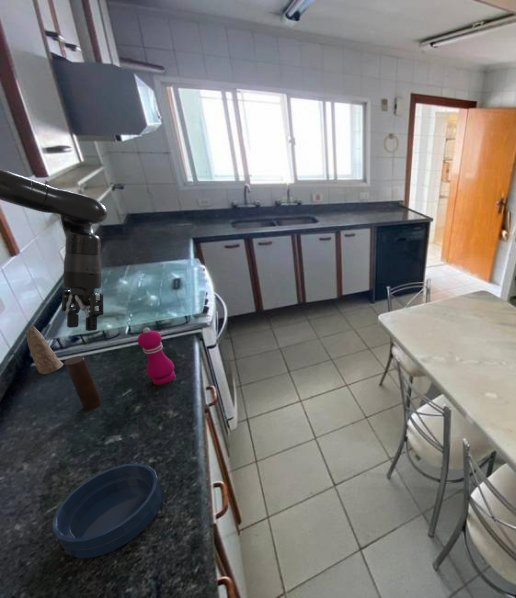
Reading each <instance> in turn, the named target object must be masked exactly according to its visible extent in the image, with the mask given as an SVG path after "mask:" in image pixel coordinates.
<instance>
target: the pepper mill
mask: <svg viewBox="0 0 516 598" xmlns="http://www.w3.org/2000/svg"><path fill="white" fill-rule="evenodd" d="M162 340H163V338H162V334H161V333H160V332H159V331H156V330H151V329H150V328H149V327H144V328H142V333H140V334H139V336H138V337H137V344H138V346H139V347H141V348H142V351H143V354H146V356H147V366H146V373H147V376H148V377H149V378H151V381H152V383H153V384H154V385H159V386H160V385H164V384H168V383H170V382H171V381H173V380H175V379H176V377H177V375H176V373H175V364H174V362H173V361H172V360H171V359H170V358H169V357H168V356H166V354H165V352H164V351H163V347H164V346H163V343H162Z"/></svg>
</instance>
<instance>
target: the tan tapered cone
mask: <svg viewBox="0 0 516 598" xmlns="http://www.w3.org/2000/svg"><path fill="white" fill-rule="evenodd" d="M25 337H26V341H27V345H28V349H29V352H30V354H31V357H32V360H33V362H34V364H35V368H36V370H37V372H38V373H39V374H42V375H49V374H51V373H54V372H56V371H57V370H59V369H61V368H62V367H63V366H64V363H63V362H62V361H61V360H60V359H59V357H58V356H57V354H56V353H55V352H54V351H53V349H52V348H51V346H50V345H49V343H48V341H46V339H45V337H44V335H43V334H42V333H41V332H40V331H39V330H38V329H37V328H36V327H35V326H34V325H31V326H27V329H26V330H25Z"/></svg>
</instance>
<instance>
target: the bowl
mask: <svg viewBox="0 0 516 598" xmlns="http://www.w3.org/2000/svg"><path fill="white" fill-rule="evenodd" d="M163 497H164V493H163V490H162V487H161V485H160V482H159V477H158V476H157V472H156V470H155V469H153V467H151V466H149V465H148V464H143V463H137V462H136V463H125V464H121V465H118V466H117V465H116V466H114V467H111V468H109V469H106V470H104V471H101V472H99V473H97V474H95V475H94V476H92V477H90V478H89V479H86V480H85V481H84V482H82V483H81V484H80V485H78V486H77V487H76V488H75V489H74V490H73V491H71V492H70V493H69V494H68V496H67V497H65V499H64V500H63V501H62V503H61V504H60V505H59V506H58V508H57V510H56V511H55V514H54V516H53V518H52V532H53V533H54V535H55V537H56V538H57V540H58V542H59V543H60V545H61V547H62V548H63V550H65V552H66V553H67V555H68V556H71V557H74V558H78V559H91V558H97V557H100V556H104V555H106V554H109V553H112V552H114V551H116V550H117V549H119V548H121V547H123V546H125V545H126V544H128V543H129V542H131V541H132V540H133V539H135V538H136V537H138V536H139V535H140V534H141V533H142V532H143V531H144V530H145V529H146V528H147V527H148V526H149V525H150V523H151V522H152V521H153V520H154V519H155V518H156V516H157V514H158V512H159V510H160V509H161V507H162V501H163Z"/></svg>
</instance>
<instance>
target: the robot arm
mask: <svg viewBox="0 0 516 598" xmlns="http://www.w3.org/2000/svg"><path fill="white" fill-rule="evenodd" d="M0 201H3V202H6V203H9V204H12V205H15V206H19V207H23V208H26V209H29V210H33V211H37V212H39V213H46V214H55V215H59V217H60V221H61V227H62V230H63V233H64V237H65V241H64V242H65V244H64V246H65V247H64V249H65V250H64V259H63V284H62V285H63V287H64V288H66V290H64V289H63V290H62V295H61V296H62V297H61V311H62V312H65V315H66V327H67V328H70V329H71V328H78V327H79V317H80V316H79V313H80V311H83V313H84V314H85V331H87V332H93V331H97V329H98V317H99V316H103V315H104V294H103V293H102V292H101V293H100V292H96V289H97V290H98V289H100V288H102V258H101V252H102V250H101V246H102V244H101V238H100V237H99V236H98V235H97V234H94V228H93V225H97V224H101V223H102V222H104V221H106V220H107V217H108V209H107V207H106V206H105V205H104V204H103V203H102V202H101V201H99V200H97V199H95V198H93V197H91V196H87V195H84V194H81V193H77V192H74V191H69V190H65V189H61V188H57V187H54V186H51V185H49V184H46V183H44V182H40V181H38V180H35V179H32V178H29V177H26V176H23V175H21V174H19V173H15V172H11V171H8V170H5V169H2V168H0ZM67 289H70V290H67Z"/></svg>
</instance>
